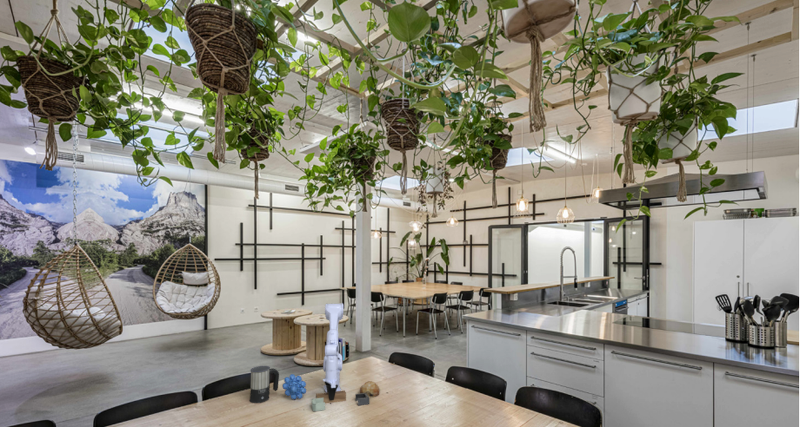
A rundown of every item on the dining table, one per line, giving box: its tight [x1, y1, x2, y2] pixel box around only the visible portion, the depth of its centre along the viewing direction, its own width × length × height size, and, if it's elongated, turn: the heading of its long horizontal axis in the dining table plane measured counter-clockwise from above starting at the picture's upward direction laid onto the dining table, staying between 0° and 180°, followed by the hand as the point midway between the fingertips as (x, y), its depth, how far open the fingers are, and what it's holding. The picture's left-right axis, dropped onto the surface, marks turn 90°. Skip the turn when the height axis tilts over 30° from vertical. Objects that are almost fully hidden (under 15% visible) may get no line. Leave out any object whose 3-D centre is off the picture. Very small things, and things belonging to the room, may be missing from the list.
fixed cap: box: [354, 392, 370, 407], centre depth 179 cm, size 7×5×3 cm
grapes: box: [282, 373, 307, 400], centre depth 182 cm, size 12×7×12 cm, turn 95°
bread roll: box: [359, 381, 381, 399], centre depth 190 cm, size 10×10×8 cm
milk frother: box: [249, 365, 280, 404], centre depth 187 cm, size 14×16×15 cm
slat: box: [315, 390, 347, 405], centre depth 181 cm, size 4×14×4 cm, turn 109°
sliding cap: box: [311, 397, 326, 412], centre depth 173 cm, size 7×5×3 cm
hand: (330, 398), depth 181 cm, fingers open, 4 cm apart
